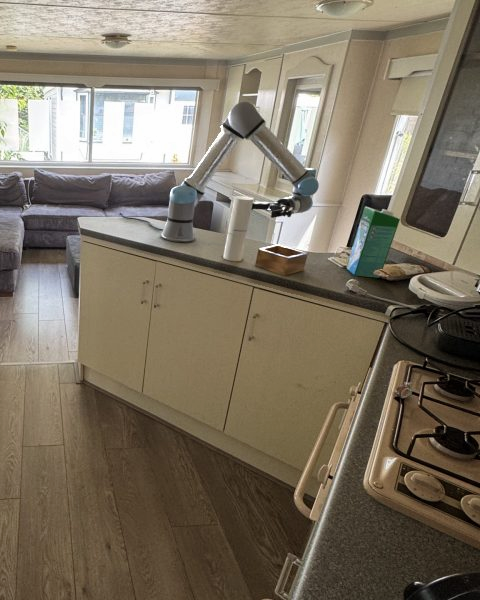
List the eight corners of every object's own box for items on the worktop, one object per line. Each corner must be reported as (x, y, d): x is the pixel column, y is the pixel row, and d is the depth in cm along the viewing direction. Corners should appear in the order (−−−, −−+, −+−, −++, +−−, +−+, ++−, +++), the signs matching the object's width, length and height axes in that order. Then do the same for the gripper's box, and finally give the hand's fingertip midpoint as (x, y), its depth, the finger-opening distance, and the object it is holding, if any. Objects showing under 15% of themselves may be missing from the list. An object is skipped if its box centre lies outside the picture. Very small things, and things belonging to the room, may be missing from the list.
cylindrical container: (238, 262, 174) (251, 200, 164) (221, 258, 178) (232, 197, 167) (243, 257, 180) (255, 197, 170) (225, 254, 183) (236, 195, 173)
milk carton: (379, 278, 163) (402, 212, 153) (354, 275, 165) (374, 210, 155) (370, 270, 171) (391, 207, 161) (345, 267, 173) (365, 205, 163)
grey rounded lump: (403, 392, 95) (410, 377, 93) (411, 399, 93) (418, 383, 91) (390, 392, 94) (397, 377, 93) (398, 399, 92) (404, 383, 91)
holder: (254, 265, 171) (258, 248, 168) (273, 260, 178) (277, 244, 175) (284, 275, 161) (289, 258, 159) (303, 270, 168) (308, 253, 165)
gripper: (312, 220, 180) (283, 226, 169) (259, 209, 199) (230, 213, 187) (316, 202, 177) (287, 207, 166) (263, 193, 196) (233, 196, 184)
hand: (257, 211), depth 177 cm, fingers open, 13 cm apart
